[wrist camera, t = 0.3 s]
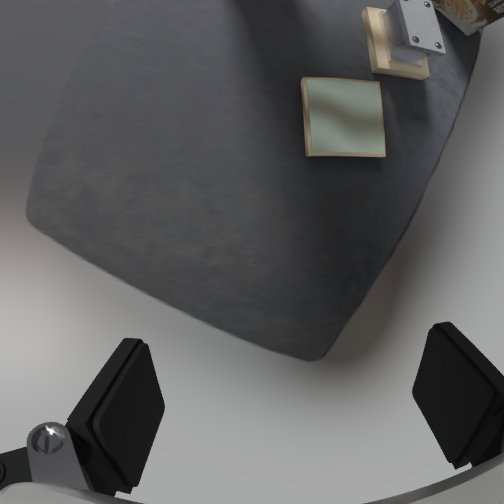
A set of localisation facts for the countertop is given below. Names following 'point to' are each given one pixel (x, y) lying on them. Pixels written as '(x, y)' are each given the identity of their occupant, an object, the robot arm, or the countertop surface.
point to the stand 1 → (342, 117)
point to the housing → (411, 32)
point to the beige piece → (379, 52)
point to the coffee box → (470, 13)
